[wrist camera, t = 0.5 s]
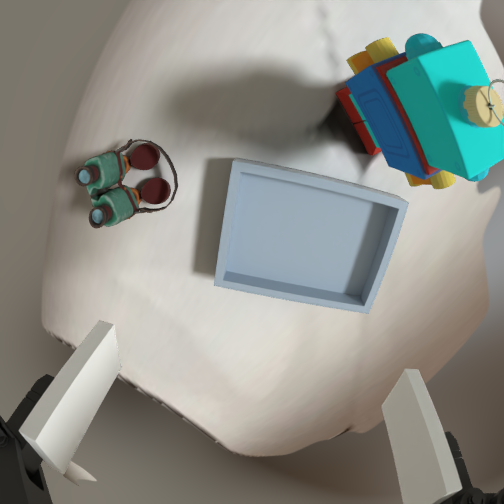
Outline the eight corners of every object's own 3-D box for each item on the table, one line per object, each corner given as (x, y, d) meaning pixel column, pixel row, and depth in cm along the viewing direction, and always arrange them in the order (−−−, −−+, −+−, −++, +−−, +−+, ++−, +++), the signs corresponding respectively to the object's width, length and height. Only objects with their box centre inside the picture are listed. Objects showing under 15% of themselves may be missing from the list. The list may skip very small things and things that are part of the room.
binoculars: (169, 217, 26) (85, 245, 27) (190, 195, 36) (122, 217, 37) (141, 125, 23) (58, 164, 24) (170, 128, 33) (102, 155, 34)
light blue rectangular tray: (237, 158, 33) (232, 160, 30) (397, 195, 33) (408, 202, 30) (219, 272, 39) (213, 285, 36) (362, 299, 39) (368, 313, 36)
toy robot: (410, 148, 30) (575, 199, 7) (370, 169, 32) (515, 251, 9) (365, 63, 27) (500, -20, 4) (322, 82, 29) (416, -12, 6)
